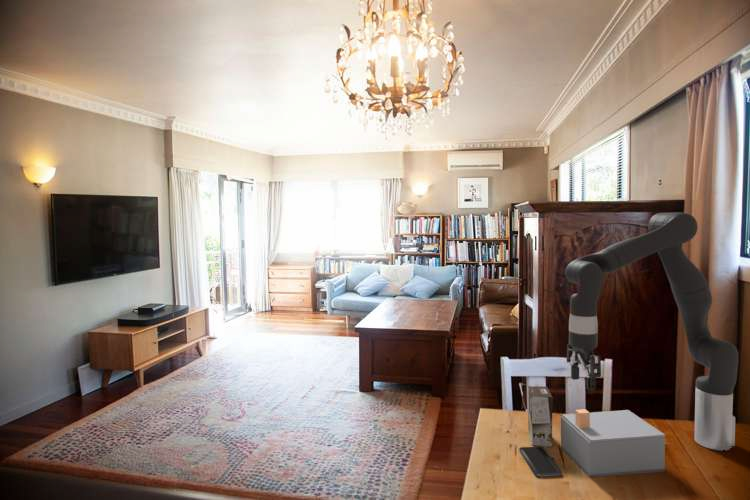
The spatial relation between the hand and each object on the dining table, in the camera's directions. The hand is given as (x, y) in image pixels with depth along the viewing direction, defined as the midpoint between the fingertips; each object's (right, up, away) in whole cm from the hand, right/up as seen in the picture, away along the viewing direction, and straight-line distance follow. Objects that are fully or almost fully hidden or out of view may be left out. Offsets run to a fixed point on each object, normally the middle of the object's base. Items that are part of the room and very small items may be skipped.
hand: (582, 384), depth 130 cm
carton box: (+9, -23, +2) cm, 25 cm away
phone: (-12, -24, +2) cm, 27 cm away
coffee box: (-7, -23, +15) cm, 28 cm away
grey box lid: (+9, -13, +2) cm, 16 cm away
